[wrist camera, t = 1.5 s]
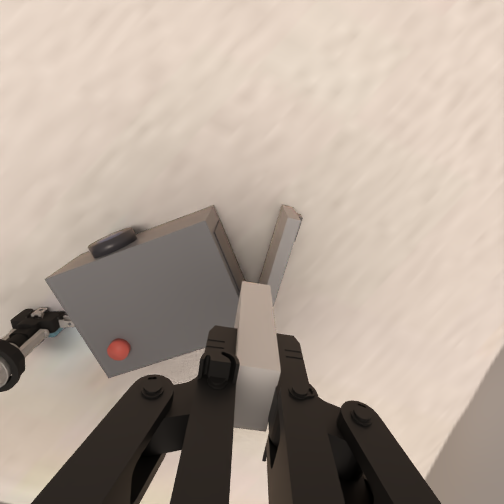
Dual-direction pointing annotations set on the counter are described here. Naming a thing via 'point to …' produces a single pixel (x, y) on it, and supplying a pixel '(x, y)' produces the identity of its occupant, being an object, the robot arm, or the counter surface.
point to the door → (280, 249)
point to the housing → (151, 291)
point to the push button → (26, 341)
